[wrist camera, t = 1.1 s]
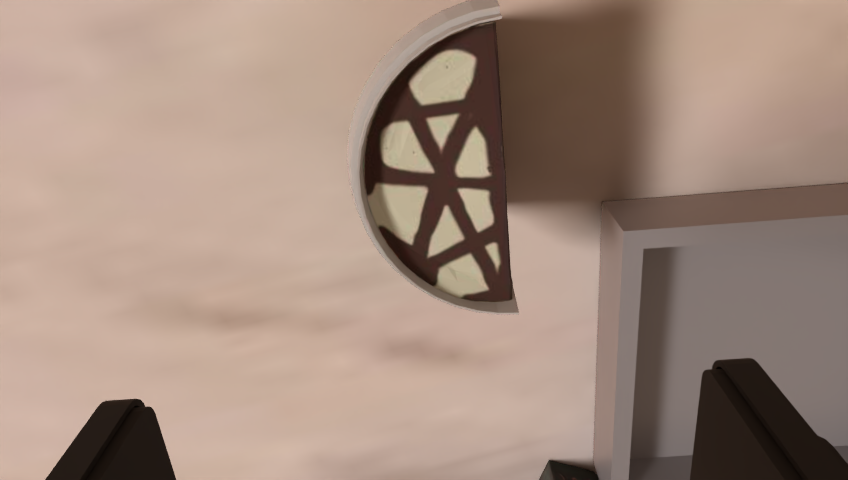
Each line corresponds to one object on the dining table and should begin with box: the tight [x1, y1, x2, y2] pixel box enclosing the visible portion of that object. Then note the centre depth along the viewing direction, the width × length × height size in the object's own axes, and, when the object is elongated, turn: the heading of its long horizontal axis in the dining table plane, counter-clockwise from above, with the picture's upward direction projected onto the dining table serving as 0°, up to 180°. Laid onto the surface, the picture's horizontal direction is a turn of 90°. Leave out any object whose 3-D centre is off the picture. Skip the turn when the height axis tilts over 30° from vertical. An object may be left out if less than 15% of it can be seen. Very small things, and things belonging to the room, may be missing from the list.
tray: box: [593, 183, 848, 480], centre depth 35 cm, size 18×18×4 cm
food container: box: [347, 0, 519, 315], centre depth 28 cm, size 12×6×10 cm, turn 6°
